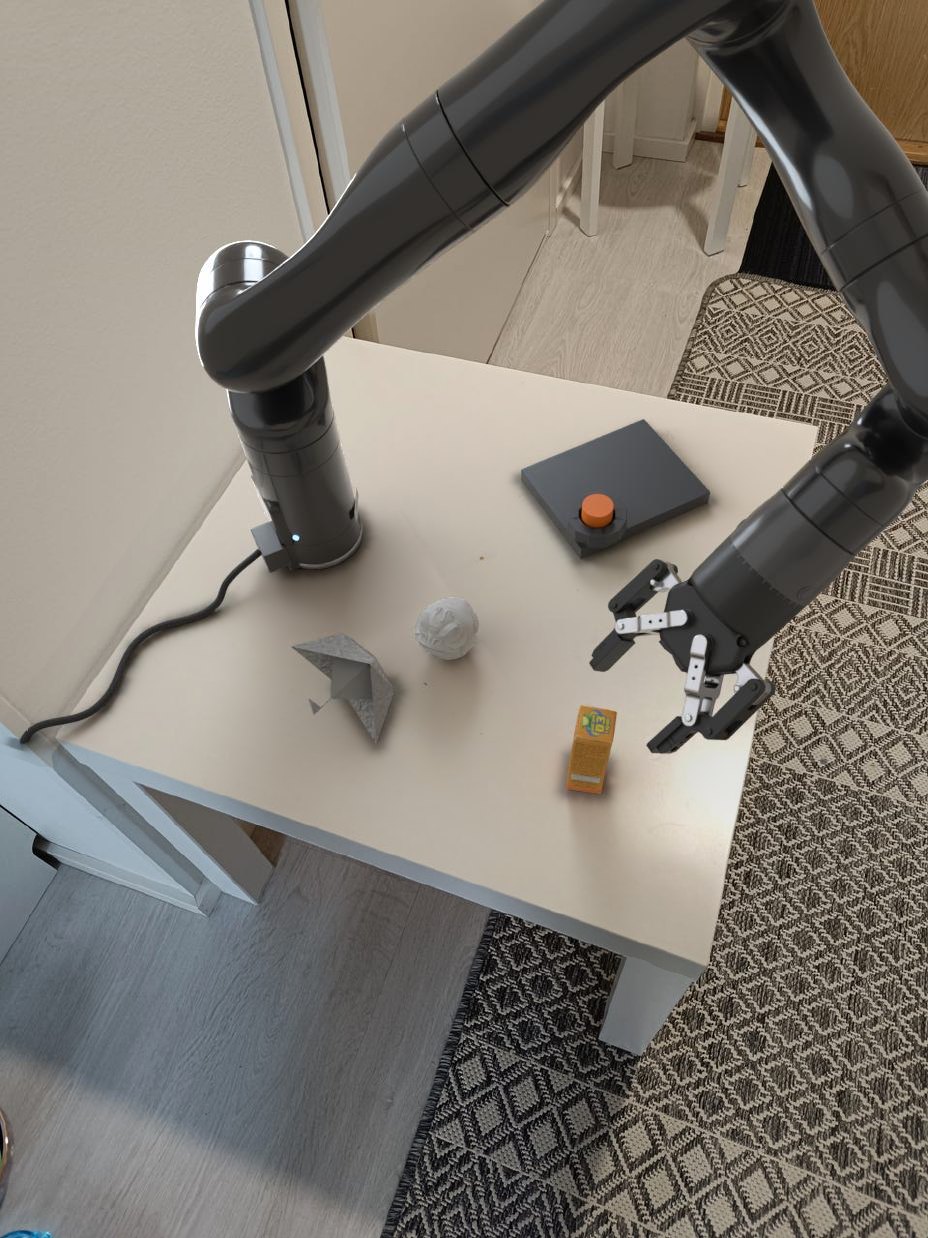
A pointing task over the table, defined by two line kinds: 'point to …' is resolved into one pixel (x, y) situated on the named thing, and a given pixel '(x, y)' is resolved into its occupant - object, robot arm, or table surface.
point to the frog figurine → (447, 628)
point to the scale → (615, 486)
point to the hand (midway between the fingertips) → (624, 707)
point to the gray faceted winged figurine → (351, 678)
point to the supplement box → (591, 749)
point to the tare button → (597, 510)
